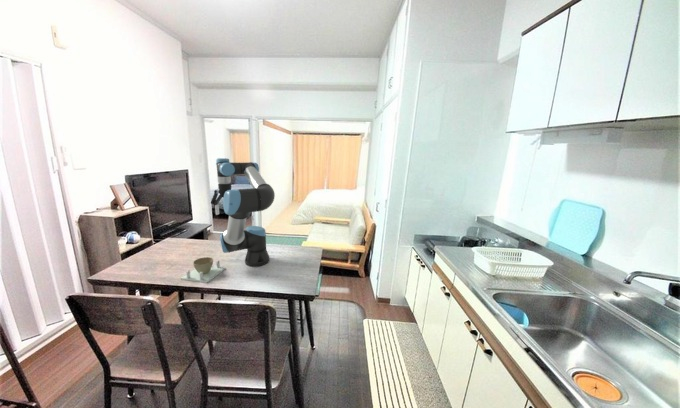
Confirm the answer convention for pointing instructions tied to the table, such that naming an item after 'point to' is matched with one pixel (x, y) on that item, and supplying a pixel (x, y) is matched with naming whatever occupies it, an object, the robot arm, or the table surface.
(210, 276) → the tray
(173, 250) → the table surface
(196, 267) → the tan round bowl
